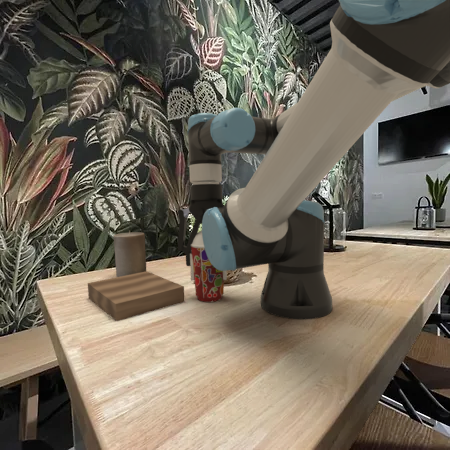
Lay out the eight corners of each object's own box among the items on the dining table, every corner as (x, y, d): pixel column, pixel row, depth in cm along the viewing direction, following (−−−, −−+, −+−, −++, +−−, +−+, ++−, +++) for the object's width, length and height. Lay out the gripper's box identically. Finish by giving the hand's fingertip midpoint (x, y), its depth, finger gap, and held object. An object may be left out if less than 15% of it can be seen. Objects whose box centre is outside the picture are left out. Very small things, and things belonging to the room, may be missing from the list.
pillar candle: (151, 271, 99) (148, 228, 97) (140, 279, 89) (137, 231, 88) (124, 271, 100) (121, 228, 98) (110, 279, 90) (107, 232, 88)
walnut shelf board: (184, 302, 68) (183, 286, 67) (116, 323, 57) (115, 304, 57) (147, 284, 83) (146, 271, 83) (88, 298, 73) (87, 283, 72)
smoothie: (222, 306, 65) (220, 218, 63) (188, 304, 67) (184, 219, 65) (229, 293, 73) (227, 216, 71) (198, 292, 75) (195, 216, 73)
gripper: (247, 183, 71) (249, 274, 73) (168, 185, 72) (172, 275, 74) (248, 181, 63) (250, 282, 65) (160, 184, 64) (164, 283, 66)
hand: (209, 278), depth 70 cm, fingers closed on smoothie, 7 cm apart
